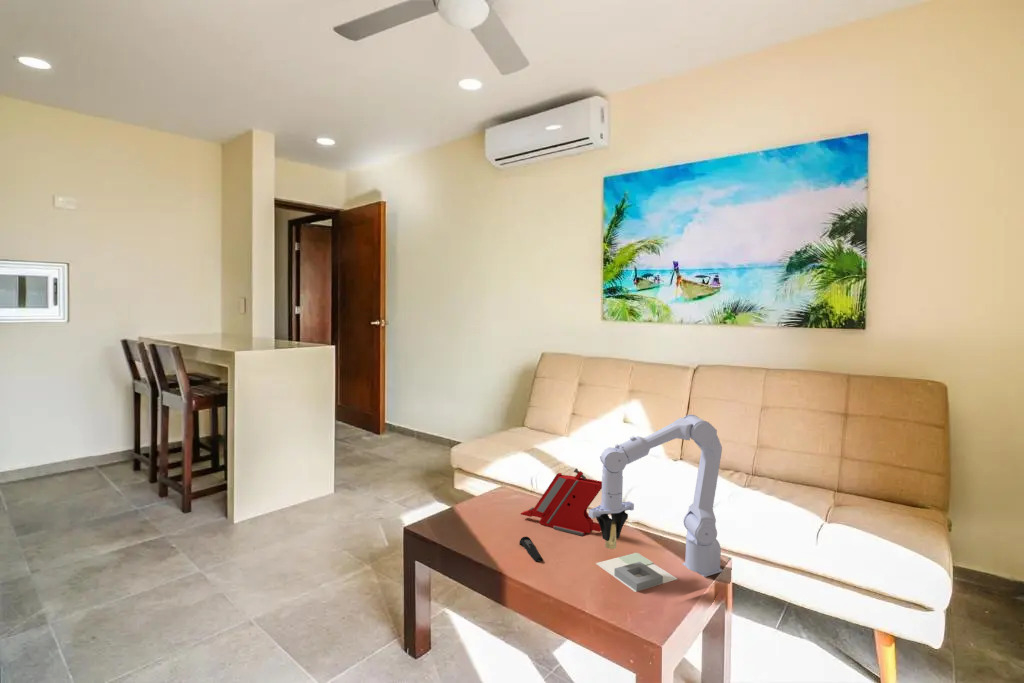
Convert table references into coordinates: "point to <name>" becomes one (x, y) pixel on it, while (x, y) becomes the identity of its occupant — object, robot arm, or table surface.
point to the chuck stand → (636, 571)
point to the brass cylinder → (612, 536)
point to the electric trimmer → (530, 548)
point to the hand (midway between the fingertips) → (610, 538)
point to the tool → (568, 504)
